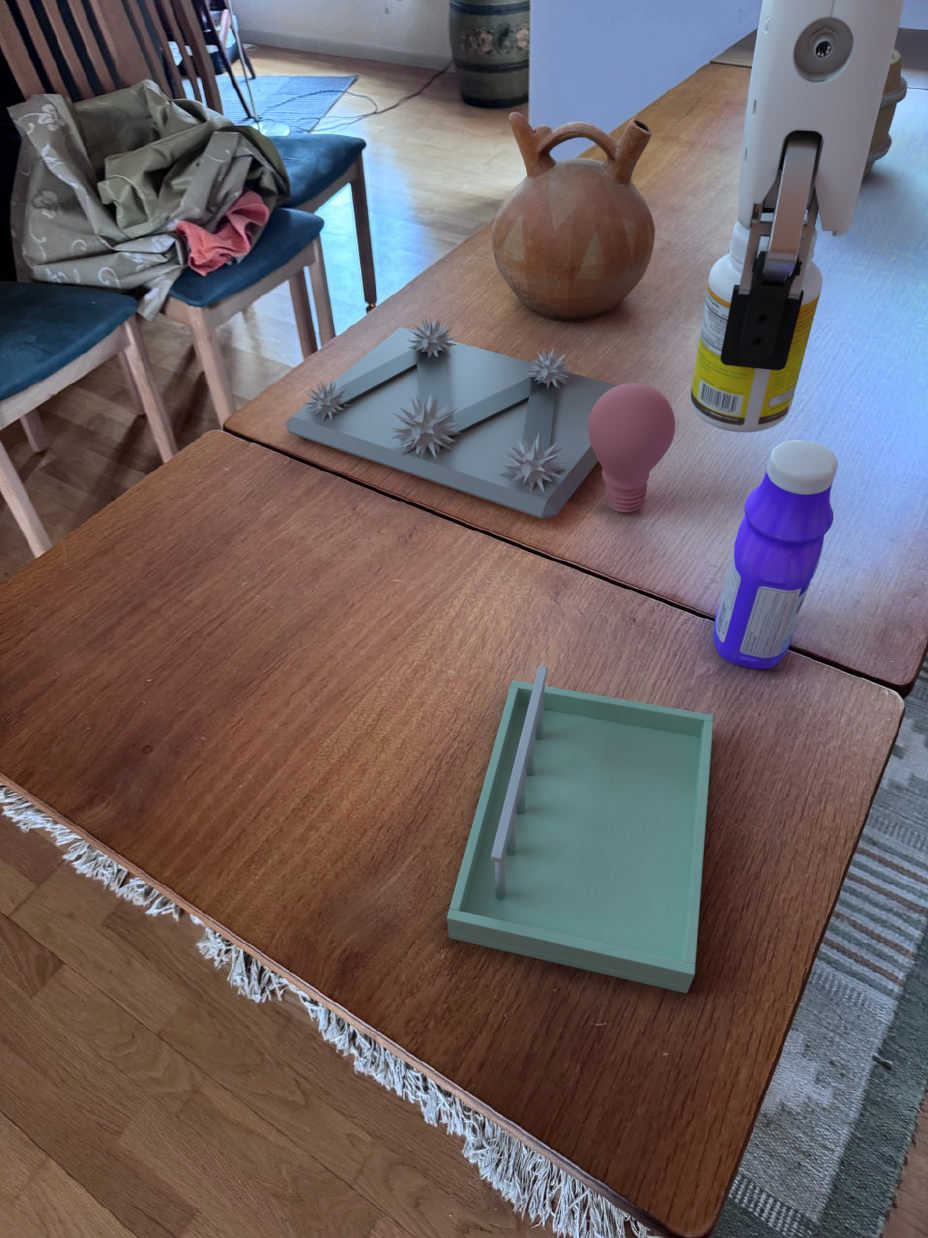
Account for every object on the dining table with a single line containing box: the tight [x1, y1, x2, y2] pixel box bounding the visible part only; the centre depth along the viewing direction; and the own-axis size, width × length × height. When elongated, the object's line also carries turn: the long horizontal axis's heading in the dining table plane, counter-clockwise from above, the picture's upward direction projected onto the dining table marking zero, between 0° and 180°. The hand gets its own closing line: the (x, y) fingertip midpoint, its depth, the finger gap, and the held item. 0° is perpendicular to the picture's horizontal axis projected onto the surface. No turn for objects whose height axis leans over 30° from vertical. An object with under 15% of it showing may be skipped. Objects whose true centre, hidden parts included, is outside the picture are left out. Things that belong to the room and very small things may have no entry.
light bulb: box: [588, 382, 676, 513], centre depth 74 cm, size 7×7×12 cm
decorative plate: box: [285, 317, 620, 521], centre depth 86 cm, size 30×22×7 cm
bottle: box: [713, 439, 839, 670], centre depth 61 cm, size 7×6×17 cm
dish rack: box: [446, 664, 715, 994], centre depth 54 cm, size 14×18×7 cm
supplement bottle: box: [690, 213, 823, 434], centre depth 46 cm, size 6×6×10 cm
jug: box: [491, 111, 656, 323], centre depth 98 cm, size 18×18×20 cm
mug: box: [862, 48, 908, 180], centre depth 122 cm, size 19×25×15 cm
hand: (755, 330), depth 46 cm, fingers closed on supplement bottle, 5 cm apart
